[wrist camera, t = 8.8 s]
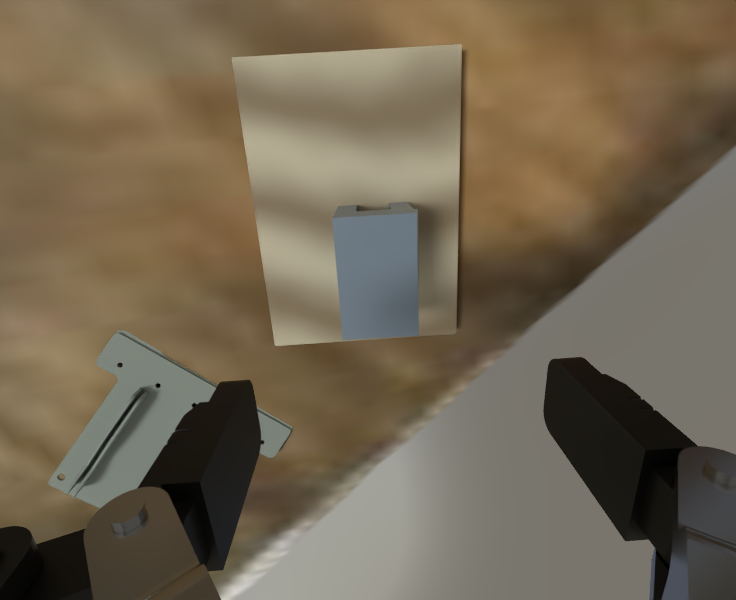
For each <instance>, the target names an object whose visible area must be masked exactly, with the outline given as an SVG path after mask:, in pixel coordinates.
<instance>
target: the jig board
mask: <svg viewBox="0 0 736 600" xmlns="http://www.w3.org/2000/svg"><path fill="white" fill-rule="evenodd" d="M232 64H233V71H234V77H235V84H236V91H237V97H238V104H239V111H240V117H241V124H242V130H243V137H244V144H245V150H246V157H247V163H248V170H249V177H250V183H251V190H252V197H253V203H254V210H255V216H256V223H257V230H258V236H259V243H260V249H261V256H262V263H263V269H264V276H265V282H266V289H267V296H268V302H269V309H270V316H271V322H272V329H273V335H274V342H275V346H281V345H296V344H311V343H326V342H341V341H356V340H371V339H386V338H370V339H352V340H343V336H342V325H341V314H340V302H339V291H338V280H337V269H336V258H335V246H334V235H333V224H332V217H333V215H334V213H335V211H336V209H337V207H338V206H348V205H357V211H371V210H387V209H389V203H397V202H408V203H409V204H410V205H411V207H412V208H413V209H414V210H415V211H416V213H417V252H418V308H419V336H431V335H446V334H456V324H457V272H458V221H459V169H460V117H461V65H462V44H458V45H440V46H423V47H406V48H389V49H371V50H354V51H337V52H319V53H302V54H285V55H268V56H250V57H233V58H232ZM406 337H416V336H406ZM388 338H401V337H388Z"/></svg>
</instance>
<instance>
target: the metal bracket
mask: <svg viewBox="0 0 736 600" xmlns="http://www.w3.org/2000/svg"><path fill="white" fill-rule="evenodd" d="M96 363H97V365H98V366H99V367H101V368H102V369H104V370H106V371H108V372H110V373H112V374H114V375H115V376H117V378H118V381H117V383H116V384H115V386H114V387H113V389H112V390H111V392H110V393H109V395H108V396H107V397H106V399H105V400H104V402H103V403H102V405H101V406H100V408H99V409H98V410H97V412H96V413H95V415H94V416H93V418H92V419H91V421H90V422H89V423H88V425H87V426H86V428H85V429H84V431H83V432H82V434H81V435H80V436H79V438H78V439H77V441H76V442H75V444H74V445H73V447H72V448H71V449H70V451H69V452H68V454H67V455H66V457H65V458H64V460H63V461H62V462H61V464H60V465H59V467H58V468H57V470H56V471H55V473H54V474H53V476H52V477H51V478H50V480H49V485H51V486H52V487H54V488H56V489H59V490H61V491H63V492H65V494H70V495H72V497H76V498H79V499H81V500H83V501H85V502H87V503H90V504H92V505H94V506H96V507H99V508H101V507H103V506H104V505H105V504H106V503H108V502H109V501H111V500H112V499H114V498H115V497H117V496H119V495H121V494H123V493H126V492H128V491H131V490H134V489H137V488H138V486H139V485H140V483H141V482H142V480H143V479H144V477H145V475H146V474H147V472H148V471H149V469H150V468H151V466H152V464H153V463H154V461H155V460H156V458H157V457H158V455H159V453H160V452H161V450H162V449H163V447H164V446H165V445H167V441H168V439H169V438H170V436H171V435H172V433H173V432H175V428H176V427H177V425H178V424H179V422H180V421H181V419H182V418H183V416H184V415H185V414H186V413H187V412H189V411H190V410H191V409H192V408H193V406H192V404H193V403H196V404H198V403H200V402H209V400H210V398H211V396H212V395H213V393H214V391H215V390H216V388H217V385H215V384H214V383H212V382H210V381H208V380H207V379H205V378H203V377H201V376H200V375H198V374H196V373H194V372H192V371H191V370H189V369H187V368H185V367H184V366H182V365H180V364H178V363H177V362H175V361H173V360H171V359H169V358H168V357H166V356H164V355H163V353H162V352H161V351H159V350H157V349H156V348H154V347H152V346H151V345H149V344H147V343H145V342H144V341H142V340H140V339H138V338H137V337H135V336H133V335H131V334H130V333H128V332H126V331H124V330H119V331H117V332H116V333H115V334H114V335H113V337H112V338H111V340H110V341H109V342H108V344H107V345H106V347H105V348H104V350H103V351H102V353H101V354H100V355H99V357H98V358H97V360H96ZM118 363H122V364H123V366H122V367H119V366H118ZM157 383H159V384H160V385H161V387H156V384H157ZM257 411H258V417H259V422H260V428H261V440H264V443H263V444H261V447H260V452H259V453H261V454H263V455H265V456H267V457H269V458H272V457H274V456H275V455H276V454H277V452H278V451H279V449H280V448H281V446H282V445H283V443H284V442H285V440H286V439H287V437H288V436H289V434H290V432H291V430H292V427H291V426H289V425H288V424H286V423H284V422H283V421H281V420H279V419H277V418H276V417H274V416H272V415H270V414H269V413H267V412H265V411H263V410H262V409H260V408H258V407H257ZM59 474H64V475H65V479H60V478H59Z"/></svg>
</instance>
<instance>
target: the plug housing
mask: <svg viewBox="0 0 736 600" xmlns="http://www.w3.org/2000/svg"><path fill="white" fill-rule="evenodd" d="M332 224H333V235H334V246H335V258H336V269H337V280H338V291H339V302H340V314H341V325H342V336H343V340H352V339H370V338H388V337H406V336H419V308H418V252H417V213H416V211H415V210H414V209H413V208H412V207H411V205H410V204H409V203H408V202H397V203H389V209H387V210H371V211H357V205H348V206H338V207H337V209H336V211H335V213H334V215H333V217H332Z"/></svg>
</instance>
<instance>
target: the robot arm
mask: <svg viewBox="0 0 736 600" xmlns="http://www.w3.org/2000/svg"><path fill="white" fill-rule="evenodd" d="M544 419H545V423H546V426H547V428H548V431H549V432H550V434H551V435H552V437H553V438H554V440H555V441H556V442H557V444H558V445H559V447H560V448H561V450H562V451H563V453H564V454H565V455H566V457H567V458H568V459H569V461H570V462H571V464H572V465H573V467H574V468H575V470H576V471H577V473H578V474H579V475H580V477H581V478H582V480H583V481H584V483H585V484H586V485H587V487H588V488H589V490H590V491H591V493H592V494H593V496H594V497H595V498H596V500H597V501H598V503H599V504H600V505H601V507H602V508H603V510H604V511H605V513H606V514H607V515H608V517H609V518H610V520H611V521H612V523H613V524H614V526H615V527H616V529H617V530H618V531H619V533H620V534H621V536H622V537H623V539H624V540H625V541H634V540H646V539H649V540H650V542H651V543H652V544H653V546H654V547H655V549H654V552H653V556H652V564H651V580H650V599H649V600H736V455H735V454H733V453H730V452H727V451H724V450H720V449H716V448H711V447H703V446H702V447H701V446H697V445H696V444H695V443H694V442H693V441H691V440H690V439H689V438H688V437H687V436H686V435H684V434H683V433H682V432H681V431H680V430H679V429H677V428H676V427H675V426H674V425H673V424H672V423H670V422H669V421H668V420H667V419H666V418H664V417H663V416H662V415H661V414H660V413H659V412H658V411H656V410H655V411H654V410H653V407H652V406H651V405H649V404H648V403H647V402H646V401H645V400H641V398H640V396H639V395H638V394H637V393H635V392H634V391H633V390H632V389H631V388H630V387H628V386H627V385H626V384H624V383H622V382H620V381H618V380H616V379H614V378H612V377H610V376H608V375H606V374H601V373H600V372H599V371H598V370H597V369H596V368H594V367H593V366H592V365H591V364H590V363H589V362H588V361H587V360H586V359H584V358H582V357H576V358H562V359H552V360H551V361H550V363H549V365H548V372H547V382H546V390H545V400H544ZM260 447H261V428H260V422H259V417H258V411H257V406H256V401H255V395H254V390H253V386H252V383H251V381H250V380H241V381H226V382H220V383H219V384H218V386H217V388H216V390H215V391H214V393H213V395H212V396H211V398H210V400H209V402H200V403H198V404H197V405H196V406H195V407H193V408H192V409H191V410H190V411H189V412H187V413H186V414H185V415H184V416H183V418H182V419H181V421H180V422H179V424H178V425H177V427H176V428H175V432H173V433H172V435H171V436H170V438H169V439H168V441H167V445H165V446H164V447H163V449H162V450H161V452H160V453H159V455H158V457H157V458H156V460H155V461H154V463H153V464H152V466H151V468H150V469H149V471H148V472H147V474H146V475H145V477H144V479H143V480H142V482H141V483H140V485H139V486H138V488H137V489H134V490H131V491H128V492H126V493H123V494H121V495H119V496H117V497H115V498H114V499H112V500H111V501H109V502H108V503H106V504H105V505H104V506H103V507H101V508H100V509H99V510H98V511H97V512H96V513H95V514H94V516H93V517H92V518H91V519H90V521H89V522H88V524H87V526H86V528H85V529H83V530H80V531H77V532H74V533H71V534H68V535H64V536H61V537H58V538H55V539H52V540H49V541H46V542H43V543H39V544H36V543H35V541H34V539H33V536H32V534H31V532H30V531H29V530H28V529H27V528H24V527H19V526H11V527H5V528H1V529H0V600H221V598H220V596H219V594H218V592H217V590H216V588H215V585H214V583H213V581H212V579H211V577H210V575H209V573H208V571H217V570H223V569H224V566H225V562H226V559H227V556H228V553H229V549H230V546H231V543H232V540H233V537H234V533H235V530H236V527H237V524H238V520H239V517H240V514H241V511H242V507H243V504H244V501H245V498H246V495H247V491H248V488H249V485H250V482H251V478H252V475H253V472H254V469H255V466H256V462H257V459H258V456H259V452H260Z"/></svg>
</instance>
